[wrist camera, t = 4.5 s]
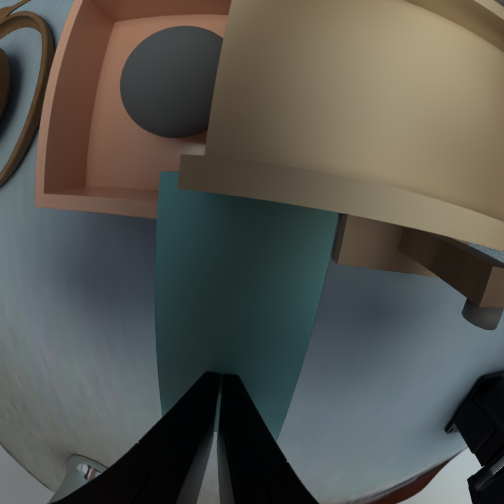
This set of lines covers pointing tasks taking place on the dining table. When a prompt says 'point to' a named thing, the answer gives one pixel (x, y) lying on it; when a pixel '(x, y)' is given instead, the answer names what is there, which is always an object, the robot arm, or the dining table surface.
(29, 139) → the place setting
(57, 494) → the beer glass
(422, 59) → the lever
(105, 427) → the dining table surface
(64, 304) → the dining table surface
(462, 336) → the dining table surface
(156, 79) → the ball
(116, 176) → the dish
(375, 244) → the lever stand
